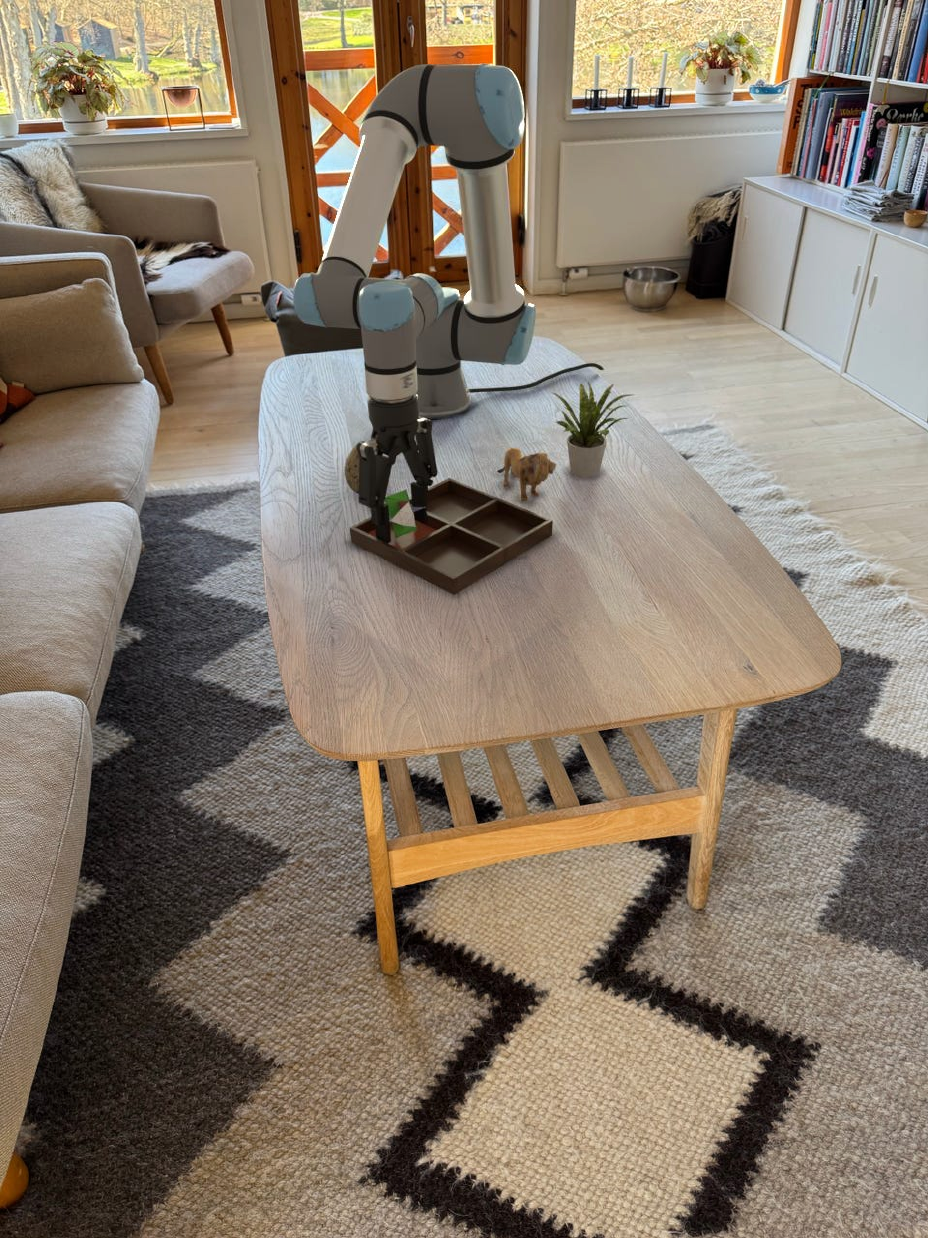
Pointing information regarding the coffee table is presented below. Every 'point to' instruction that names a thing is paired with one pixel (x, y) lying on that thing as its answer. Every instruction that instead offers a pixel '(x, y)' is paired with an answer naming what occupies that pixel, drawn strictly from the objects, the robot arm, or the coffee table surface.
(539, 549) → the coffee table surface
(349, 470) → the decorative egg
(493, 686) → the coffee table surface
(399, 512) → the geometric puzzle
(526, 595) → the coffee table surface
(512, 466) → the lion figurine
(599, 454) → the house plant
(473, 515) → the sorting tray
